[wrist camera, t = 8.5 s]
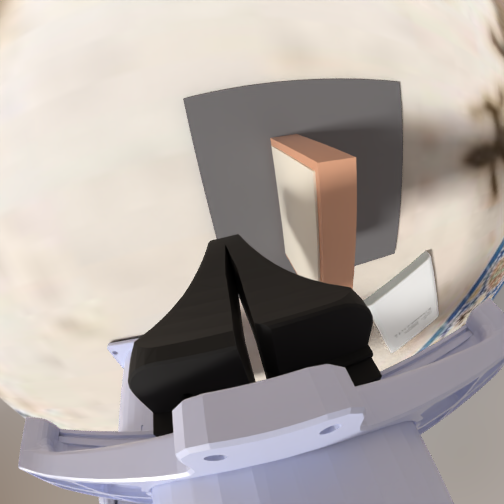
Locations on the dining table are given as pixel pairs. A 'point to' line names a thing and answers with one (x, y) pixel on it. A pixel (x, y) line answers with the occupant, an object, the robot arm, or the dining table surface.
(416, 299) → the external hard drive
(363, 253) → the mat
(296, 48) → the dining table surface
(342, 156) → the terracotta tile
